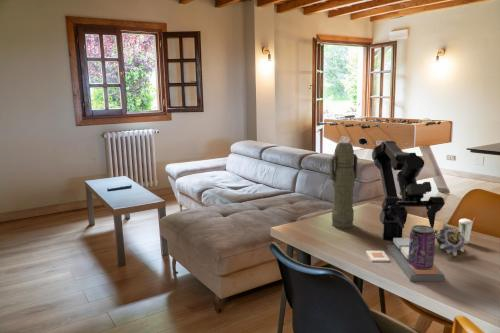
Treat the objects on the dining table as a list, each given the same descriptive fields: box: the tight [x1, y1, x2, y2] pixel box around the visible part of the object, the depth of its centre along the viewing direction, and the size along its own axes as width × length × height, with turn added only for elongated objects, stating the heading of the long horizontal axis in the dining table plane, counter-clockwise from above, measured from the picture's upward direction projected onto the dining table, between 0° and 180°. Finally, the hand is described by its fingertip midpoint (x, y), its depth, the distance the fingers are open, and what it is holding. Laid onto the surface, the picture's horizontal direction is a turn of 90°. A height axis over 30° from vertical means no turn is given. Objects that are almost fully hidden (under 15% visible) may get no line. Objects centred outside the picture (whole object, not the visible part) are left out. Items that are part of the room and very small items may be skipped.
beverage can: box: [408, 224, 436, 269], centre depth 125 cm, size 7×7×12 cm
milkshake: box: [458, 217, 476, 245], centre depth 152 cm, size 5×5×10 cm
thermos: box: [329, 142, 359, 230], centre depth 171 cm, size 9×12×35 cm
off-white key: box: [401, 247, 409, 259], centre depth 135 cm, size 6×6×1 cm
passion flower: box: [434, 222, 468, 258], centre depth 145 cm, size 11×11×12 cm
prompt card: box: [365, 250, 391, 263], centre depth 142 cm, size 8×6×1 cm
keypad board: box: [387, 244, 446, 282], centre depth 135 cm, size 24×10×2 cm, turn 178°
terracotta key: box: [409, 263, 440, 274], centre depth 127 cm, size 6×6×1 cm
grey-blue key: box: [392, 237, 410, 249], centre depth 143 cm, size 6×6×1 cm
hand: (417, 227), depth 131 cm, fingers open, 9 cm apart
